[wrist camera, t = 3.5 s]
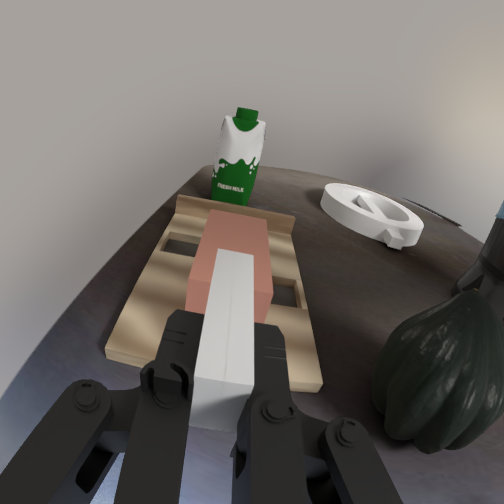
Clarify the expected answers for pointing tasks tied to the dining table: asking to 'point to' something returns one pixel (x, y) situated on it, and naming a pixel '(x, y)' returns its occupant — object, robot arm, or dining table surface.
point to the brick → (238, 240)
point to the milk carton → (237, 157)
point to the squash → (442, 374)
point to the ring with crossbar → (372, 215)
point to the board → (176, 281)
